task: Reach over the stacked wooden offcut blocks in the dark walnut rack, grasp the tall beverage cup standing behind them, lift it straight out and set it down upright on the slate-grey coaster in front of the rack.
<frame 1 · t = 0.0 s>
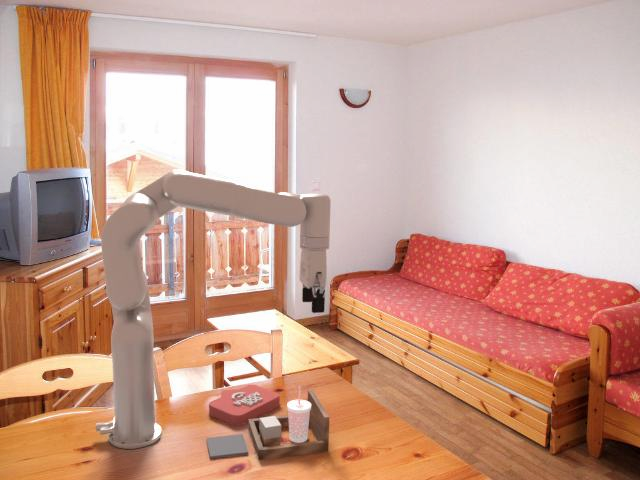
hand: (312, 306, 158), 31 cm above the table, tool pointing down, fingers open, 9 cm apart
offcut top: (270, 432, 150), point 3 cm above the table, touching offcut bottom
coaster: (227, 447, 148), on the table
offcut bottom: (269, 444, 150), resting in rack, touching offcut top
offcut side: (269, 432, 156), resting in rack
beverage cup: (298, 438, 153), resting in rack
rack: (286, 439, 152), on the table
plaque: (241, 409, 169), on the table
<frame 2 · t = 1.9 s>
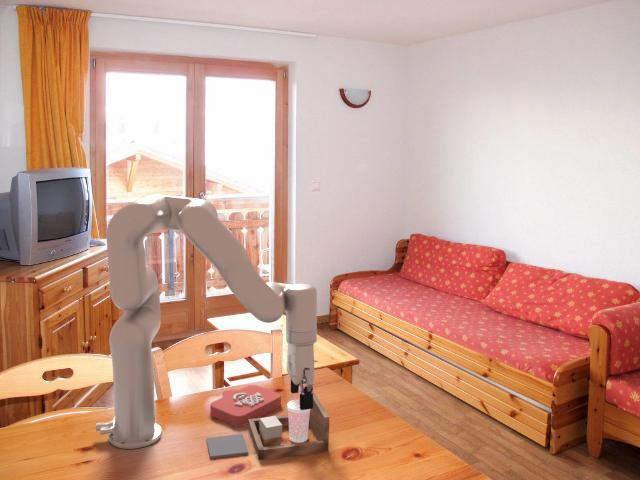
hand: (301, 400, 151), 10 cm above the table, tool pointing down, fingers open, 9 cm apart
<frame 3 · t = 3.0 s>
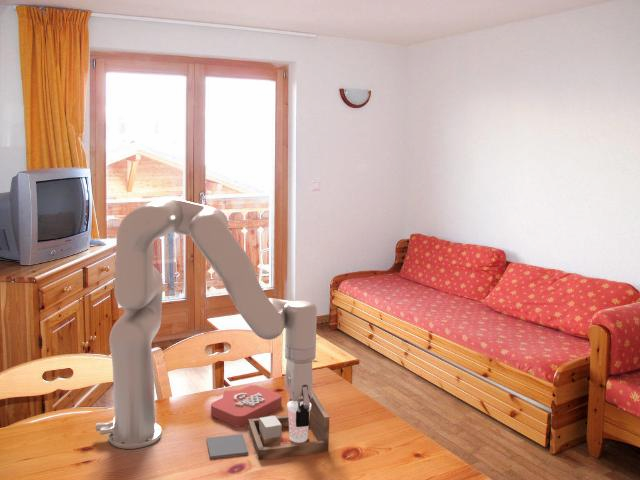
hand: (298, 419, 152), 5 cm above the table, tool pointing down, fingers closed on beverage cup, 6 cm apart
beverage cup: (298, 438, 153), resting in rack, touching gripper
everything else where it was.
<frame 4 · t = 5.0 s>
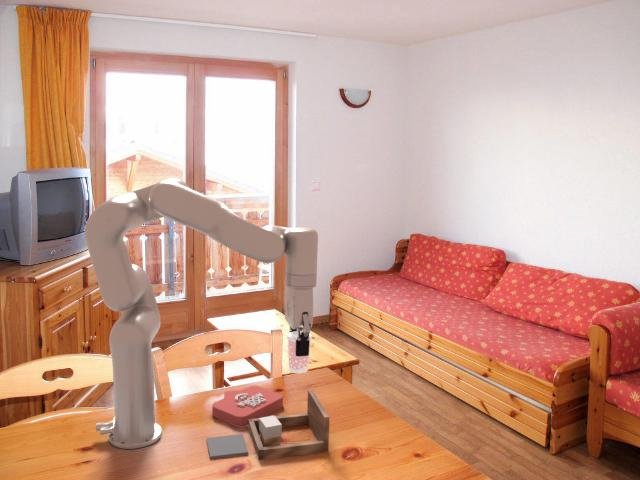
hand: (298, 350, 149), 23 cm above the table, tool pointing down, fingers closed on beverage cup, 6 cm apart
beverage cup: (298, 370, 150), point 18 cm above the table, touching gripper
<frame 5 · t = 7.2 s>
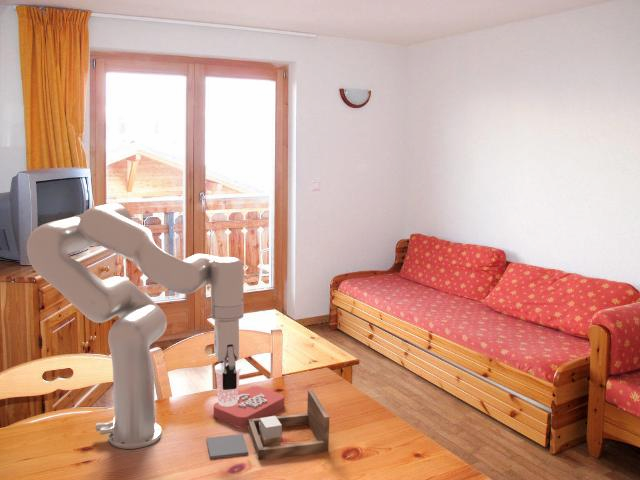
hand: (227, 382, 145), 17 cm above the table, tool pointing down, fingers closed on beverage cup, 6 cm apart
beverage cup: (227, 403, 146), point 11 cm above the table, touching gripper
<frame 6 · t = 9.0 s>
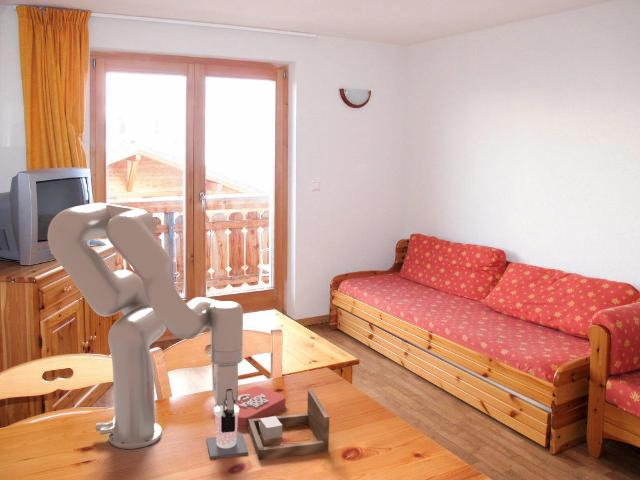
hand: (226, 424, 147), 6 cm above the table, tool pointing down, fingers closed on beverage cup, 6 cm apart
beverage cup: (226, 444, 148), point 1 cm above the table, touching gripper
when the fingers open (6 cm above the table, at t = 9.6 s): beverage cup stays where it is, resting on coaster.
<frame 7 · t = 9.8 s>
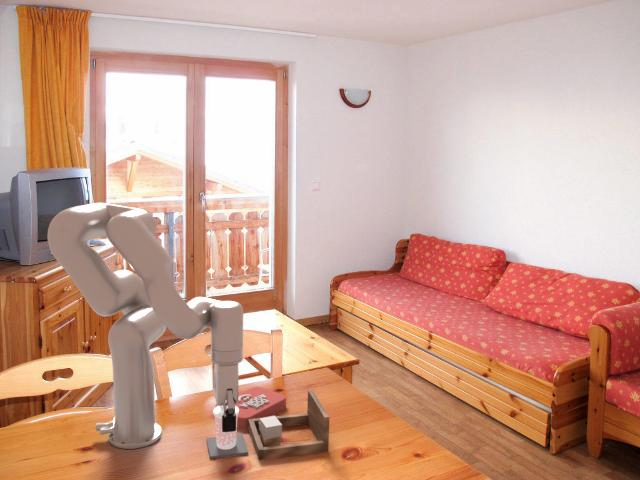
hand: (226, 422, 147), 6 cm above the table, tool pointing down, fingers open, 7 cm apart
beverage cup: (226, 445, 148), resting on coaster
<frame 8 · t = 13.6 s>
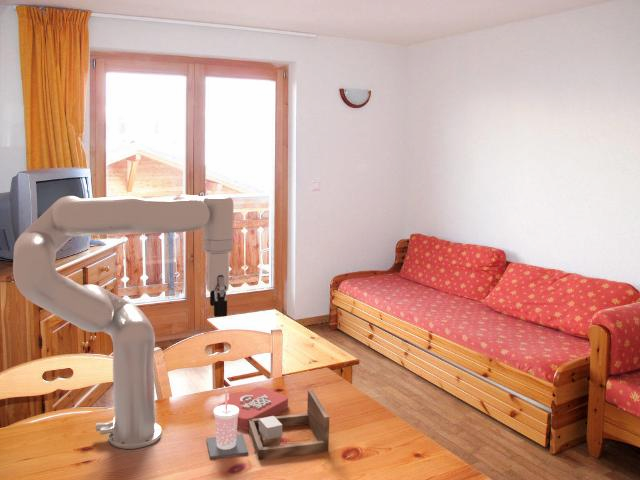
hand: (218, 310, 156), 30 cm above the table, tool pointing down, fingers open, 9 cm apart
at the end: beverage cup 0.2 cm from the coaster (horizontally); beverage cup tilted 0°; the gripper is holding nothing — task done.
